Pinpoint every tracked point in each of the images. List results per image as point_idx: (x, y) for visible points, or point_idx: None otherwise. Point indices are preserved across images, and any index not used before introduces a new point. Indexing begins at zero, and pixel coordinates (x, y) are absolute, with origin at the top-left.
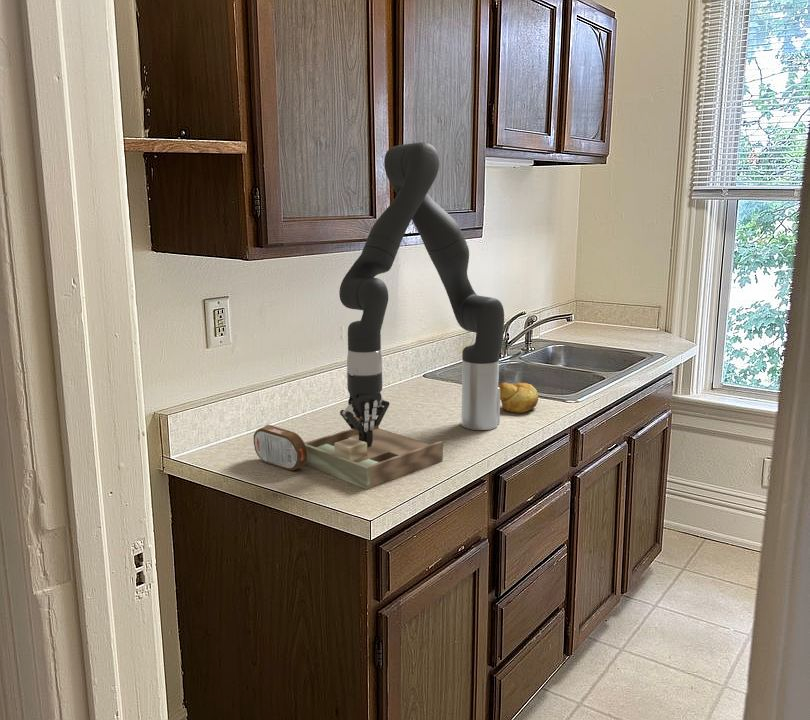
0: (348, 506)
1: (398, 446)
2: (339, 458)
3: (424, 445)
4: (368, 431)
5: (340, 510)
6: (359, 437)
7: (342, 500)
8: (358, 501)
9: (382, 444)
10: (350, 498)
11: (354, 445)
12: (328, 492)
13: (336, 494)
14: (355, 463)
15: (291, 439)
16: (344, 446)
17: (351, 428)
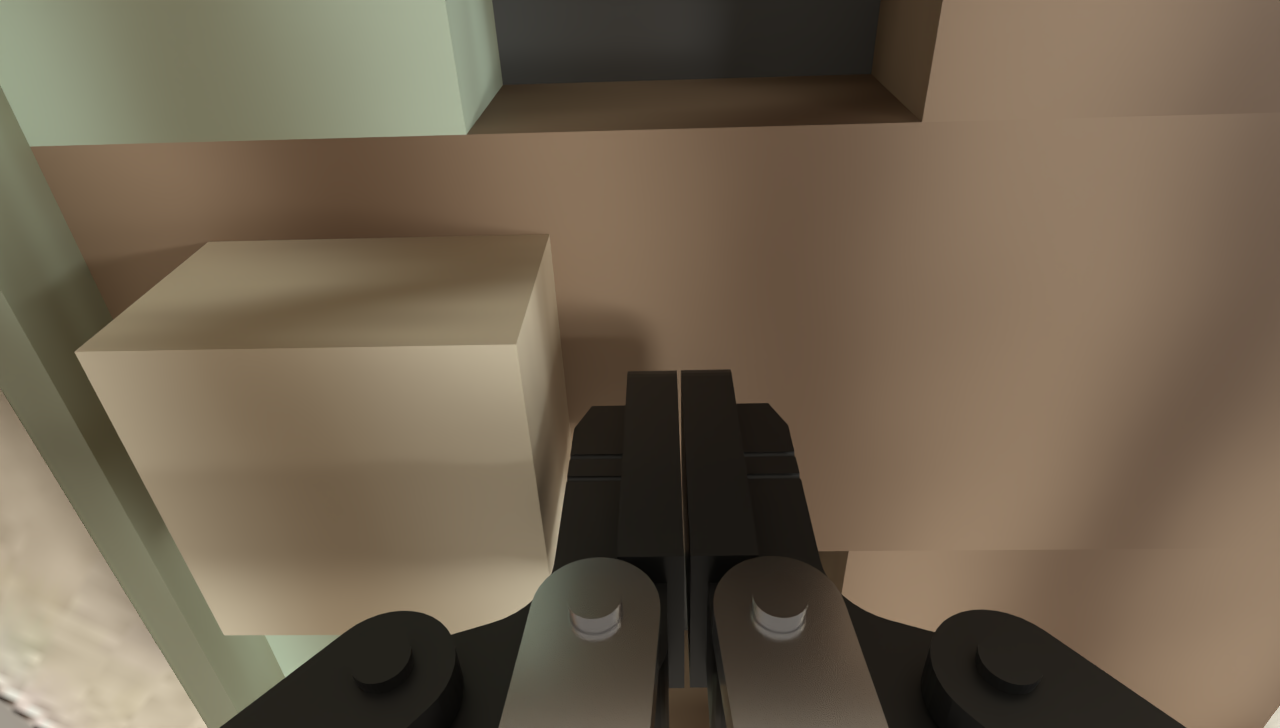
0: (104, 717)
1: (1081, 505)
2: (105, 554)
3: (1257, 636)
4: (691, 673)
5: (38, 723)
6: (566, 507)
7: (96, 656)
8: (192, 709)
9: (1046, 335)
10: (160, 664)
11: (341, 606)
12: (34, 530)
13: (86, 583)
14: (215, 721)
15: None
16: (184, 557)
17: (350, 634)
